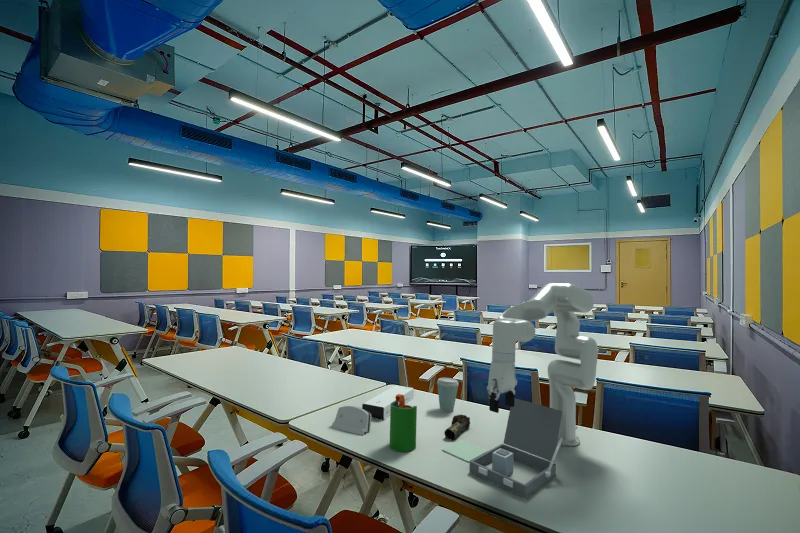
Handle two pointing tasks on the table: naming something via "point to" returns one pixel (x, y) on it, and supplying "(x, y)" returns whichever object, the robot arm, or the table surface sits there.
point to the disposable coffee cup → (447, 393)
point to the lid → (533, 428)
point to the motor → (402, 425)
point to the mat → (464, 451)
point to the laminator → (387, 401)
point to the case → (512, 484)
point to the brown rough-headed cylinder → (457, 426)
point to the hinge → (352, 420)
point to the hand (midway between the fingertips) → (502, 408)
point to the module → (502, 461)
